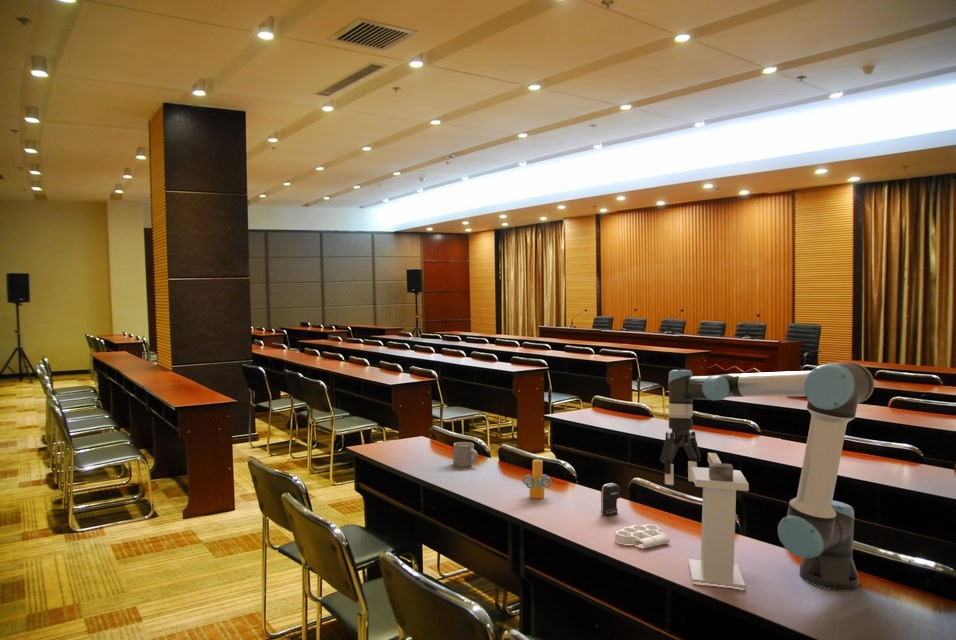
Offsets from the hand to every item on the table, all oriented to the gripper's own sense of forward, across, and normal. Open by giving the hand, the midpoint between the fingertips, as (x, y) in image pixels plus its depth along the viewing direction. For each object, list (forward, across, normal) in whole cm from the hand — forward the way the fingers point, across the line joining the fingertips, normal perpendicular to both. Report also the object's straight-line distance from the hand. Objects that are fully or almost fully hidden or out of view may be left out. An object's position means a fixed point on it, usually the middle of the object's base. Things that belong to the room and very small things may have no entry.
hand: (681, 483), depth 207 cm
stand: (+24, +9, +16) cm, 30 cm away
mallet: (-6, +7, +16) cm, 19 cm away
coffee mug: (+8, -12, -125) cm, 126 cm away
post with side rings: (+15, -4, -69) cm, 70 cm away
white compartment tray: (+21, +2, -14) cm, 25 cm away
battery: (+17, -11, -37) cm, 42 cm away
